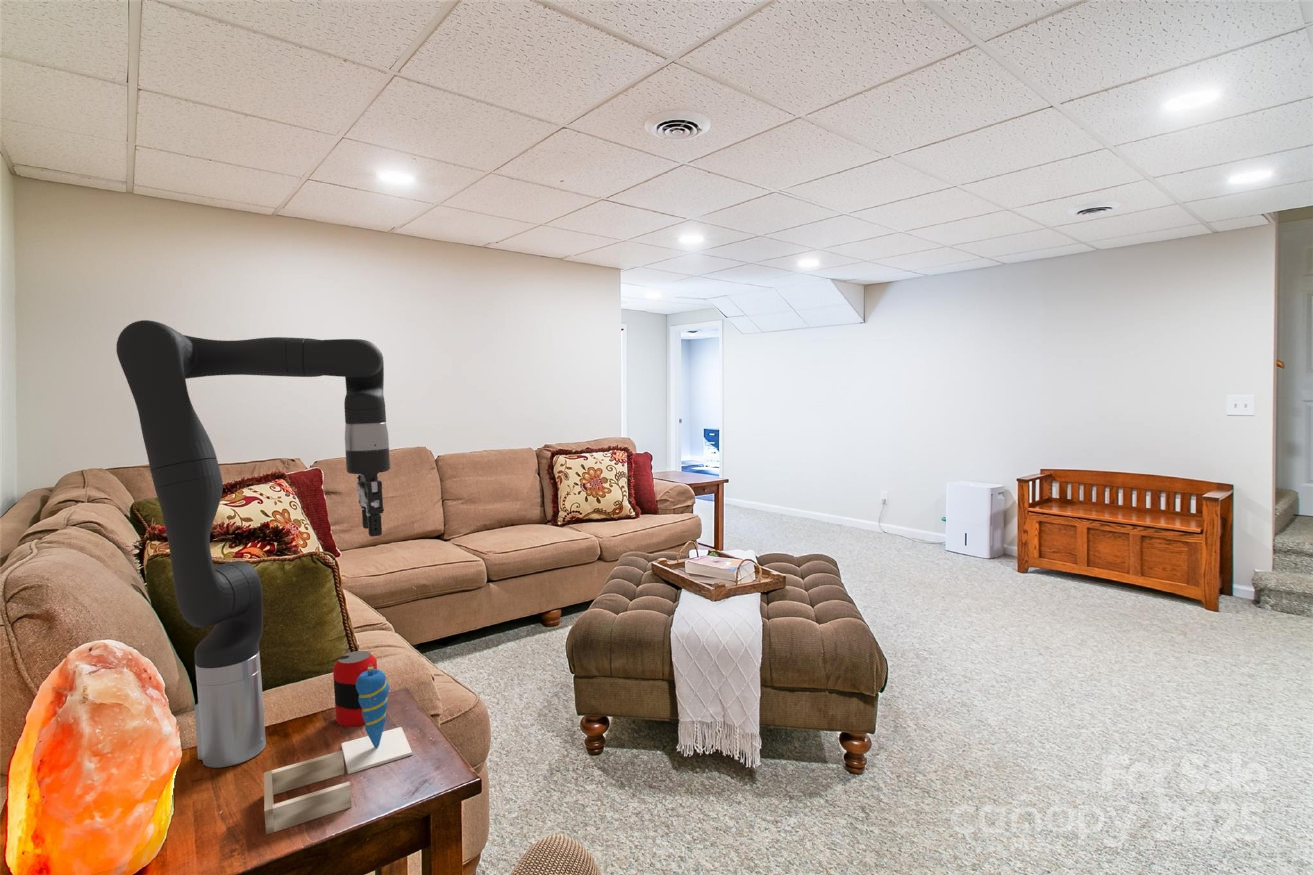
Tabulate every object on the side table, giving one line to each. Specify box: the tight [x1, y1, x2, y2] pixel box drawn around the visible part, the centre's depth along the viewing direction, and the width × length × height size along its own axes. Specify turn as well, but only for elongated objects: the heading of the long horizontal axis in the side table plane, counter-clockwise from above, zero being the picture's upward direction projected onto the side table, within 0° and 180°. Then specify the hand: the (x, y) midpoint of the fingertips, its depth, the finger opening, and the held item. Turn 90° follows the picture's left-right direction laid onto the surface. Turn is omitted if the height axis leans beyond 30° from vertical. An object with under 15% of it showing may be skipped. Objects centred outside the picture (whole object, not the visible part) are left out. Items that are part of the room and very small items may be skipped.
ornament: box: [356, 664, 390, 748], centre depth 111 cm, size 5×5×15 cm
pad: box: [341, 726, 413, 775], centre depth 111 cm, size 10×10×1 cm
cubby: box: [263, 750, 352, 835], centre depth 98 cm, size 11×11×4 cm
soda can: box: [332, 650, 378, 728], centre depth 123 cm, size 8×8×12 cm
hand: (372, 531), depth 122 cm, fingers open, 8 cm apart
